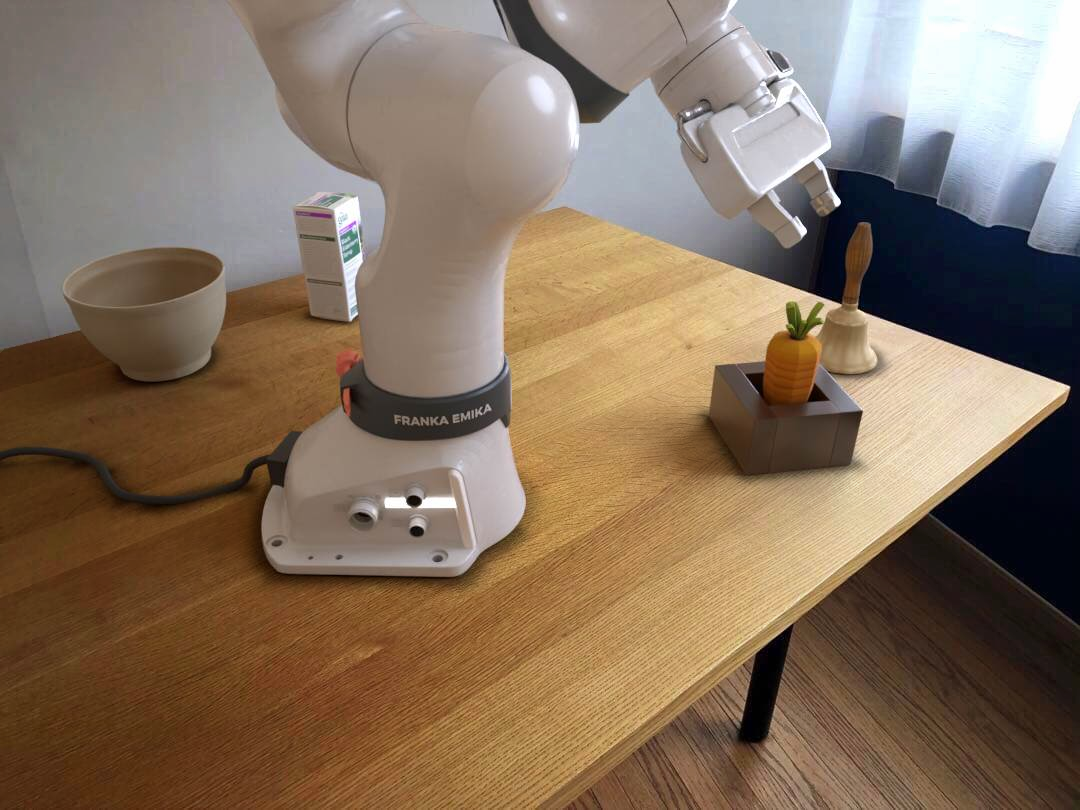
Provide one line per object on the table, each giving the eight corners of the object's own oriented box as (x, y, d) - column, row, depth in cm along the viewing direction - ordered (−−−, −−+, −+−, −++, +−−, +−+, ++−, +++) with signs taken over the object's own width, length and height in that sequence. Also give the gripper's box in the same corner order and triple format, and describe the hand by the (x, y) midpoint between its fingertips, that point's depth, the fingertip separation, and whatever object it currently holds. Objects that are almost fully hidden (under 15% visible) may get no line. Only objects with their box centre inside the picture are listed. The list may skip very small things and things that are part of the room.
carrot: (800, 427, 86) (826, 289, 79) (808, 455, 82) (837, 312, 74) (750, 424, 87) (771, 287, 79) (755, 451, 83) (778, 310, 75)
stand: (745, 475, 79) (754, 420, 76) (708, 416, 88) (714, 364, 85) (850, 464, 81) (863, 410, 78) (803, 407, 90) (813, 356, 87)
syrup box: (350, 323, 106) (336, 209, 99) (308, 316, 108) (291, 203, 100) (372, 304, 111) (360, 194, 103) (331, 298, 112) (316, 189, 105)
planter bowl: (56, 389, 92) (25, 296, 87) (148, 324, 106) (126, 240, 100) (189, 408, 89) (166, 313, 83) (267, 339, 102) (251, 253, 97)
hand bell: (822, 378, 95) (850, 240, 87) (790, 343, 102) (812, 213, 94) (891, 371, 96) (925, 235, 88) (854, 337, 103) (882, 209, 95)
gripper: (698, 88, 63) (806, 241, 64) (790, 51, 78) (877, 176, 78) (640, 141, 67) (741, 284, 68) (737, 96, 82) (820, 214, 83)
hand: (815, 226), depth 73 cm, fingers open, 8 cm apart
